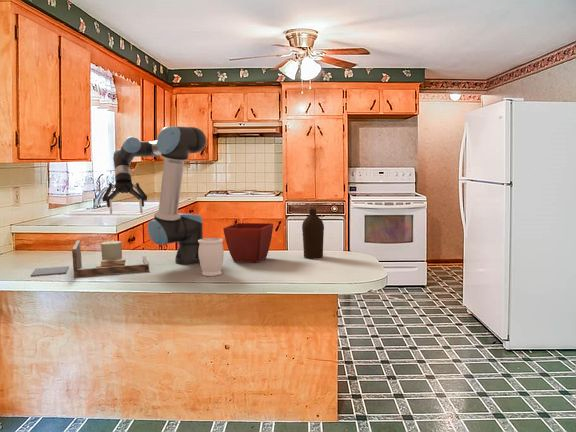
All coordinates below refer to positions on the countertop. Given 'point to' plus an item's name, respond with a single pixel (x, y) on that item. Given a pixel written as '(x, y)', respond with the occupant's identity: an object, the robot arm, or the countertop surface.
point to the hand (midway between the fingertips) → (126, 212)
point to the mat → (50, 271)
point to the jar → (211, 256)
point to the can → (111, 250)
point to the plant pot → (248, 241)
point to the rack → (102, 270)
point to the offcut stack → (111, 263)
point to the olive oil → (313, 235)
